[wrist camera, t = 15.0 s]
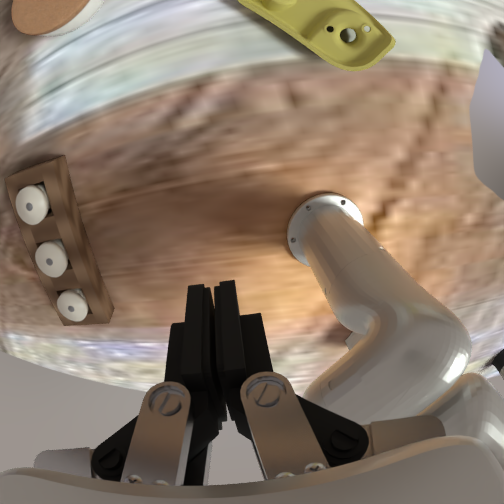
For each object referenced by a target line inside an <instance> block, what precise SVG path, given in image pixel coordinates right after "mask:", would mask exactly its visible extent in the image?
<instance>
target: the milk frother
mask: <svg viewBox="0 0 504 504" xmlns="http://www.w3.org/2000/svg"><path fill="white" fill-rule="evenodd" d="M492 364H493V365H494V366H495V367H496V369H497V370H498V371H499V373H500V374H501V376H502V377H503V379H504V350H503V351H501V352H500V353H499V354H498V355H497V356H496V358H495V359H494V360H493V363H492Z"/></svg>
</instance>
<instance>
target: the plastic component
mask: <svg viewBox="0 0 504 504" xmlns="http://www.w3.org/2000/svg"><path fill="white" fill-rule="evenodd" d="M238 1H239V2H240V3H241V4H242V5H243V6H245V7H247V8H249V9H250V10H252V11H254V12H255V13H257V14H259V15H260V16H262V17H264V18H265V19H267V20H268V21H270V22H271V23H273V24H274V25H276V26H277V27H279V28H280V29H282V30H283V31H285V32H286V33H288V34H289V35H291V36H292V37H294V38H295V39H296V40H298V41H299V42H301V43H302V44H303V45H305V46H306V47H307V48H309V49H310V50H311V51H313V52H314V53H315V54H317V55H318V56H320V57H321V58H322V59H324V60H325V61H327V62H328V63H330V64H332V65H334V66H336V67H338V68H340V69H343V70H347V71H360V70H365V69H368V68H370V67H372V66H373V65H375V64H376V63H377V62H378V61H379V60H380V59H382V58H383V57H384V56H385V55H386V54H387V53H388V52H389V51H390V50H391V49H392V48H393V47H394V45H395V42H396V41H395V39H394V38H393V37H392V35H391V34H390V33H389V32H388V31H387V30H386V29H385V28H384V27H383V26H382V25H381V24H380V23H379V22H378V21H377V20H376V19H375V18H374V17H373V16H372V15H371V14H369V13H368V12H367V11H366V10H365V9H364V8H363V7H362V6H360V5H359V4H358V3H357V2H356V1H354V0H238ZM328 26H332V27H333V28H334V31H333V32H328V31H327V29H326V28H327V27H328ZM365 26H369V27H370V31H369V32H365V31H364V27H365ZM345 28H351V29H353V30H354V31H355V33H356V38H355V39H354V40H353V41H352V42H345V41H343V40H341V38H340V32H341V31H342V30H343V29H345Z"/></svg>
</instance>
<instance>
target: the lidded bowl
mask: <svg viewBox="0 0 504 504" xmlns="http://www.w3.org/2000/svg"><path fill="white" fill-rule="evenodd" d="M104 1H105V0H13V4H12V21H13V23H14V26H15V27H16V28H17V30H19V31H20V32H22V33H24V34H27V35H34V36H35V35H38V36H58V35H64V34H67V33H70V32H72V31H74V30H76V29H78V28H80V27H82V26H83V25H84V24H86V23H87V22H88V21H89V20H90V19H92V18H93V17H94V15H95V14H96V13H97V12H98V11H99V9H100V8H101V6H102V5H103V3H104Z"/></svg>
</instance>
